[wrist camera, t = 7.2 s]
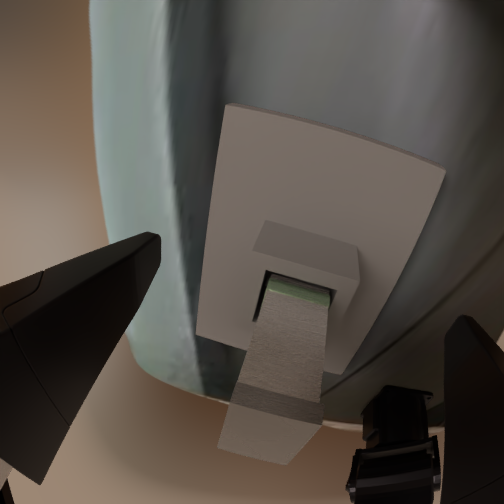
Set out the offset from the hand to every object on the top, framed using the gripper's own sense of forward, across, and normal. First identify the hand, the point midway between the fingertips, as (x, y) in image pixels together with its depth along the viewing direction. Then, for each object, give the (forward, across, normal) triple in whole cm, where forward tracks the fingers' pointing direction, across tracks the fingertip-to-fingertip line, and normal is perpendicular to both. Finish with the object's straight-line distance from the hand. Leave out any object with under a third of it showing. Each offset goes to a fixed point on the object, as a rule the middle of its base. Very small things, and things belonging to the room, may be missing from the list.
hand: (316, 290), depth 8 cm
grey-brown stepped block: (+8, 0, +8) cm, 11 cm away
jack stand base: (+13, 0, +8) cm, 16 cm away
